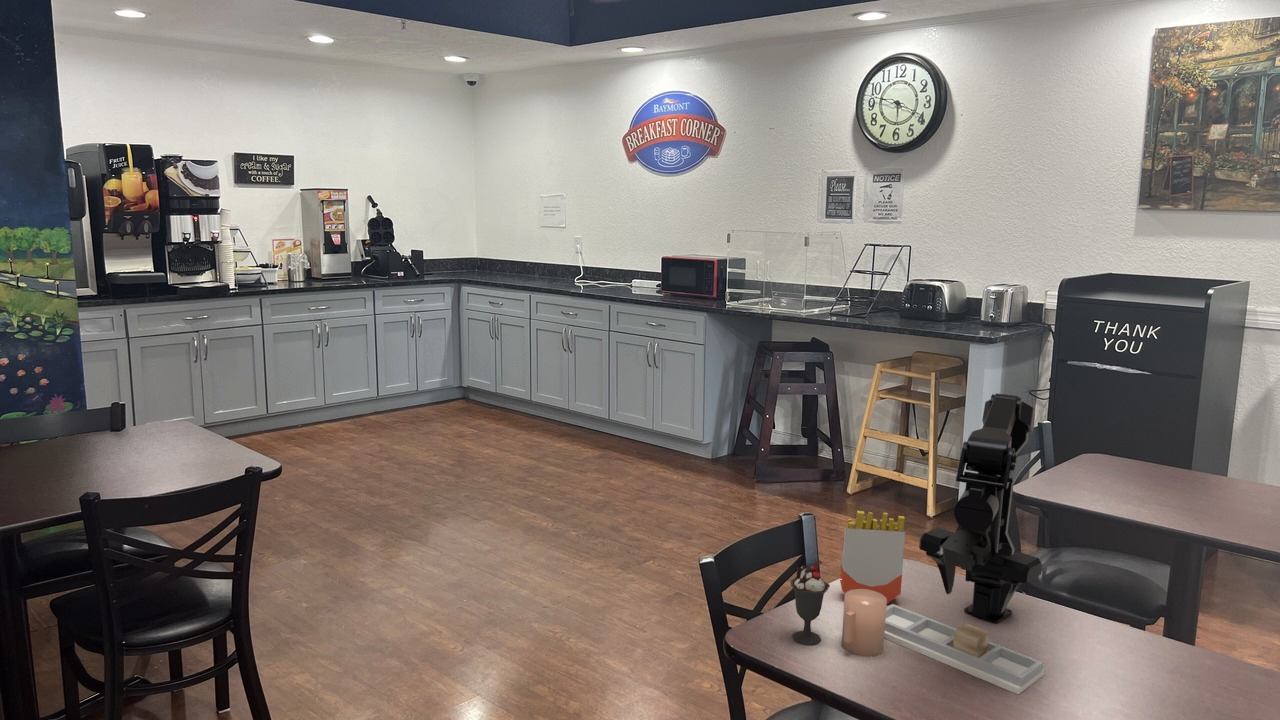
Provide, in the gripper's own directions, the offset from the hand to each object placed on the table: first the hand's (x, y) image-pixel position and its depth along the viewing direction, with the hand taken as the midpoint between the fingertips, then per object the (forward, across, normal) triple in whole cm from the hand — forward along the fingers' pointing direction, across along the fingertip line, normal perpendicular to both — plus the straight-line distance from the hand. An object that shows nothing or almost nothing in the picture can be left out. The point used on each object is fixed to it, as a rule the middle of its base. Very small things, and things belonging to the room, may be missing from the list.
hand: (974, 602), depth 152 cm
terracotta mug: (+10, -14, -10) cm, 20 cm away
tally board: (+10, -4, 0) cm, 11 cm away
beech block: (+9, 0, 0) cm, 9 cm away
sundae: (+10, -22, -15) cm, 29 cm away
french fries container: (+10, -24, +7) cm, 28 cm away
